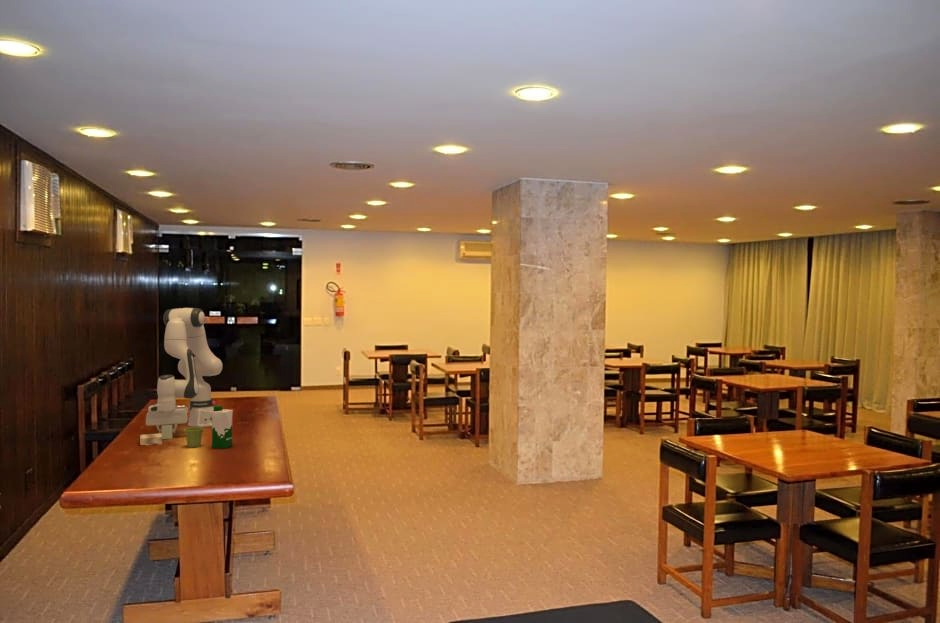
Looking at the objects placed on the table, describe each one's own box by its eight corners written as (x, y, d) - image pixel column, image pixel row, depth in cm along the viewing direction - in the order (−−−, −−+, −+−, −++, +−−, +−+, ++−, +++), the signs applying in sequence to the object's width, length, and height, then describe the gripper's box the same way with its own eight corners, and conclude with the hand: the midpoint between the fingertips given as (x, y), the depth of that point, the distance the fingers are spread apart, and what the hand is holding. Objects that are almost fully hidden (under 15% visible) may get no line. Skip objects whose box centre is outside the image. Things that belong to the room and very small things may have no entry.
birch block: (161, 440, 364) (161, 433, 364) (162, 444, 355) (162, 436, 355) (140, 442, 360) (140, 434, 360) (140, 446, 351) (140, 438, 351)
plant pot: (179, 447, 348) (179, 429, 348) (194, 443, 357) (194, 426, 356) (192, 449, 344) (192, 431, 344) (208, 445, 352) (208, 428, 352)
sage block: (172, 436, 373) (172, 423, 373) (172, 438, 368) (172, 425, 368) (162, 437, 371) (161, 424, 371) (161, 439, 367) (161, 425, 366)
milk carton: (218, 444, 354) (218, 404, 353) (235, 445, 352) (235, 405, 351) (209, 448, 345) (208, 407, 345) (225, 449, 343) (225, 408, 343)
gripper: (188, 404, 376) (188, 430, 376) (145, 406, 369) (146, 433, 369) (188, 406, 370) (188, 432, 371) (145, 408, 363) (145, 435, 363)
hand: (167, 432), depth 370 cm, fingers closed on sage block, 5 cm apart
